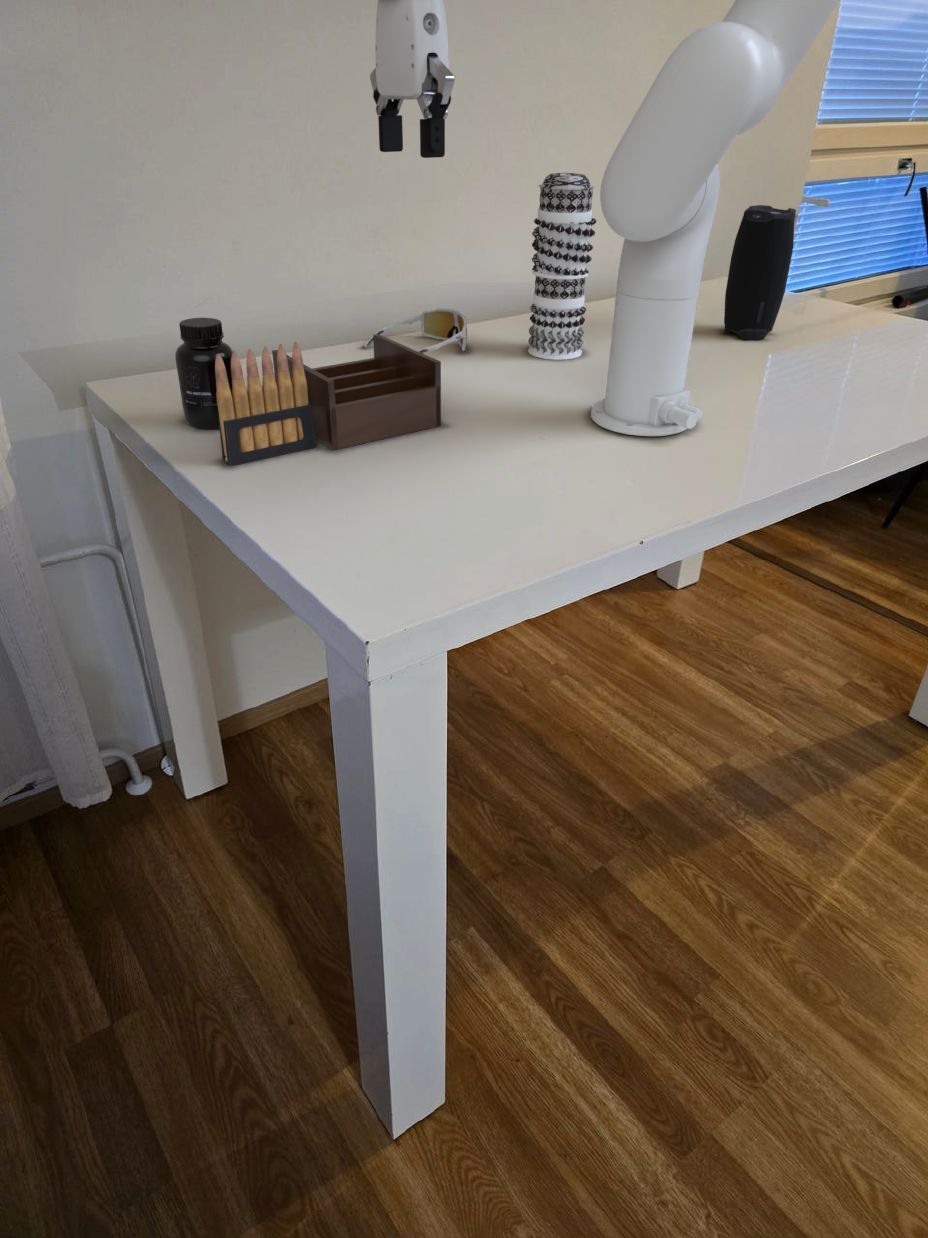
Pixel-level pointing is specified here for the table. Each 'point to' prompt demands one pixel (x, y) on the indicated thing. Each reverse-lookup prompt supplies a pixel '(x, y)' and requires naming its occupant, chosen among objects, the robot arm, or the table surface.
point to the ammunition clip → (263, 408)
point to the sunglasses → (436, 327)
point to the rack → (373, 395)
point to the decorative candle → (561, 266)
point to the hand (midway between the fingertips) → (411, 154)
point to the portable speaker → (758, 271)
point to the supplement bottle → (201, 370)
